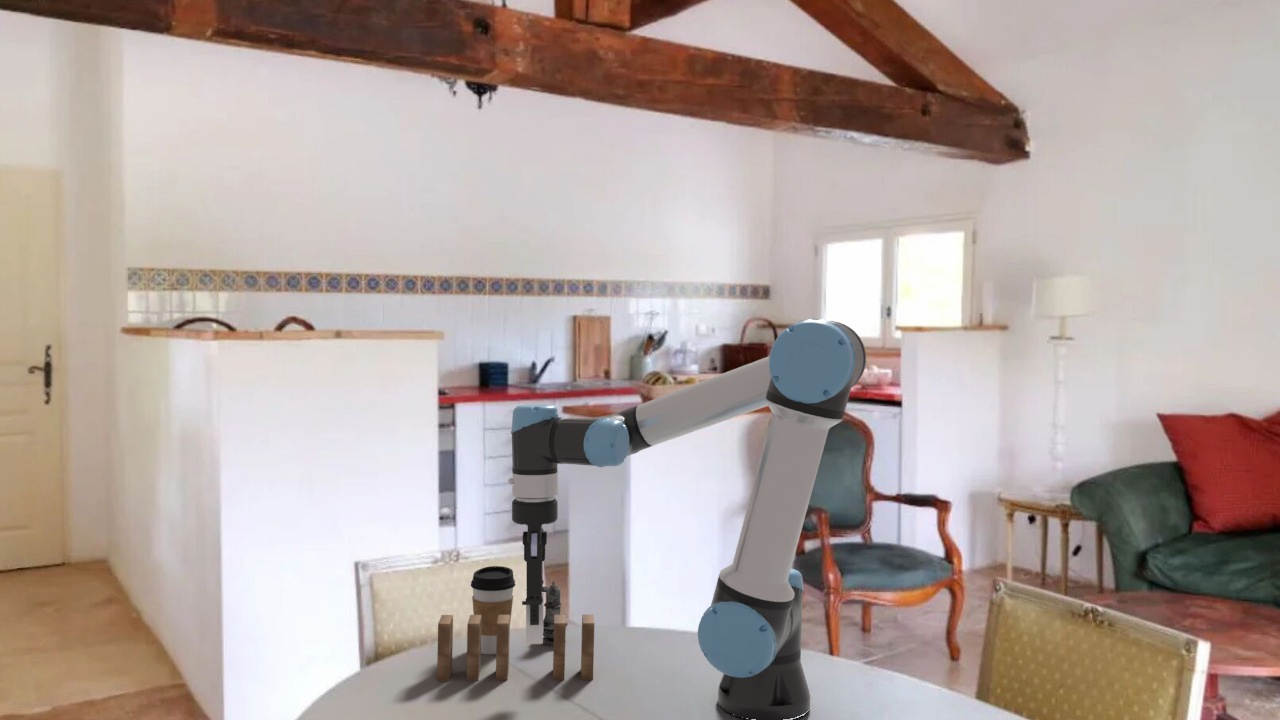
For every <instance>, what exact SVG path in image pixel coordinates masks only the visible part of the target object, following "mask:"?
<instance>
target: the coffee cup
mask: <svg viewBox="0 0 1280 720" xmlns="http://www.w3.org/2000/svg"><path fill="white" fill-rule="evenodd" d="M515 582H516V581H515V578H514V571H513V569H512V568H510V567H507V566H501V565H491V566H485V567H481V568H480V569H478V570H476V571H474V572H473V575H472V580H471V581H470V587H471V588H472V597H471V598H472V609H473V610H472V611H473V612H472V613H473V615H482V617H481V655H482V654H483V655H496V643H497V621H498V616H499V615H510V621H511V620H512V611H513V602H514V595H513V591H514V587H515V586H516V583H515Z"/></svg>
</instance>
